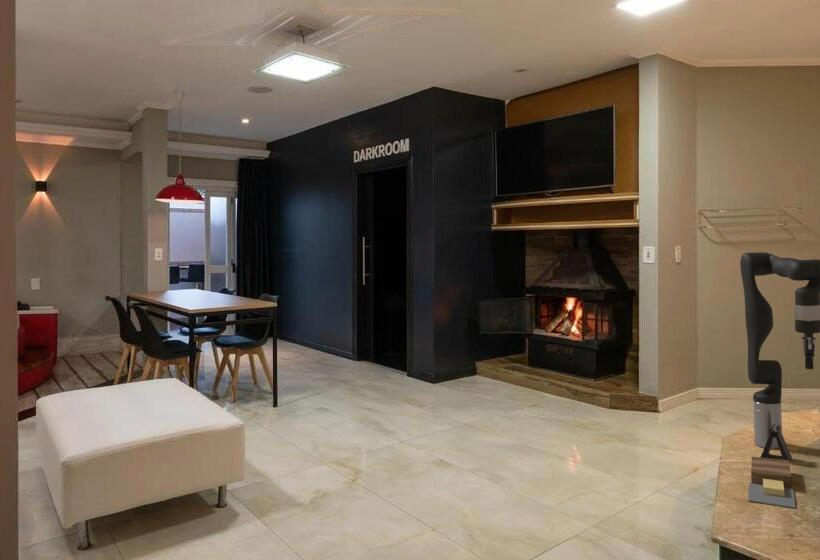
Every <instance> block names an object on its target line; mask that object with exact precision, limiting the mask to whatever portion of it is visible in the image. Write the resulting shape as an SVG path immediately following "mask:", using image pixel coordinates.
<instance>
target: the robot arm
mask: <svg viewBox="0 0 820 560" xmlns="http://www.w3.org/2000/svg"><path fill="white" fill-rule="evenodd" d="M739 267H740V274H741V275H740V276H741V279H742V280H741V281H742V287H743V288H742V289H743V295H744V312H745V313H744V314H745V315H744V317H745V328H746V335H747V336H746V338H747V375H748V380H749V382H750V383H752V385H767V387H765V388H762V389H761V390H758V391H756V392H753V395H752V396H753V397H752V398H753V399H752V401H753V428H754V429H753V431H754V432H753V434H754V435H753V436H754V437H753V438H754V439H753V440H754V445H756V446H757V447H759V448H763V449H764V448H765V445H766V443H767V441H768V438H769V435H770V434H769V430H770V428H771V427H772V425H773V424H775V426H774V427H773V429H774V430H775V431H776V432H777V430H776V429H775V428H776V427H777V425H778V424H779V425H780V426H781V433H782V434H783V423H782V422H783V420H782V417H783V416H782V415H783V414H782V393H783V392H782V385H783V384H782V383H783V369H782V365H781V364H780V363H781V362H779V360H776V359H760V353H761V350H762V346H763V344H764V343H765V341H766V340H767V338H768V337H769V335H770V334H771V332H772V330H773V328H774V315H773V314H774V312H773V308H772V306H771V304H770V303H769V302H768V300H767V299H766V298H765V297H764V295H763V294H762V293H761V291H760V289H759V288H758V284H757V282H756V277H760V276H761V277H762V276H763V277H764V276H769V275H777V276H779V277H782V278H787V279H788V278H789V280H791V281H798V282H801V281H803V282H804V281H808V282H807V283H806V285H805V286H801V287H798V288H797V289H795V292H794V299H795V301H794V303H795V304H794V305H795V307H794V331H795V332H796V333H800V334H803V336H801V338H800V339H801V344H802V350H803V351H802V352H803V357H804V364H805V365H804V366H805V369H806V370H814V358H815V352H816V344H817V338H816V336H814V334H819V333H820V259H816V258H813V259H798V258H793V257H781V256H777V255H774V254H772V253H770V252H767V251H766V252H765V251H764V252H756V251H755V252H745V253H743V254H742V255H741V257H740V261H739ZM771 449H774V450H775V449H776V450H777V449H779V446H778V443H777V439H776V438H773V442H772V445H771V448H770V450H771Z"/></svg>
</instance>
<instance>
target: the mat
mask: <svg viewBox="0 0 820 560" xmlns="http://www.w3.org/2000/svg"><path fill="white" fill-rule="evenodd" d="M748 485H749V486H748V488H749V489H748V502H749V501H754V502H753V503H755V502H759V503H758V504H761V503H764V504H763V505H768V504H769V506H775V507H776V506H777V507H783V508H788V509H796V507H797V506H796V499H795V493H794V492H795V491H794V488H792V489H791V488H784V496H777V495H770V494H764V493H763V485H761V484H754V483H751V482H749V484H748Z"/></svg>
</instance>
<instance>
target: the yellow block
mask: <svg viewBox="0 0 820 560" xmlns="http://www.w3.org/2000/svg"><path fill="white" fill-rule="evenodd" d="M763 493H764V494H770V495H777V496H784V485H783V481H780V480H772V479H764V478H763Z"/></svg>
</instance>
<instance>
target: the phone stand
mask: <svg viewBox="0 0 820 560" xmlns="http://www.w3.org/2000/svg"><path fill="white" fill-rule="evenodd" d="M774 426H775V424H773V425H772V427H771V428H770V430H769V434H770V435H769V438H768V441H767V443H766V445H765V448H763V451H762V452H761V455H760V458H769V459H778V460H787V461H789V462H791V460H792V459H793V457H792V455H791V452H790V450H789V448H788V445H787V443H786V440H785V438H784V436H783V432H782V433H781V426H780V425H779V424H778V425H777V427H776V428H775V429H776V430H777V432H776V431H775V430H774V429H773V427H774ZM773 438H776V439H777V443H778V446H779V448H778V449H779V451H780V454H781V455H780V454H779V455H777V454H772V453H770V452H771V449H770V448H771V445H772V442H773Z"/></svg>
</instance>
